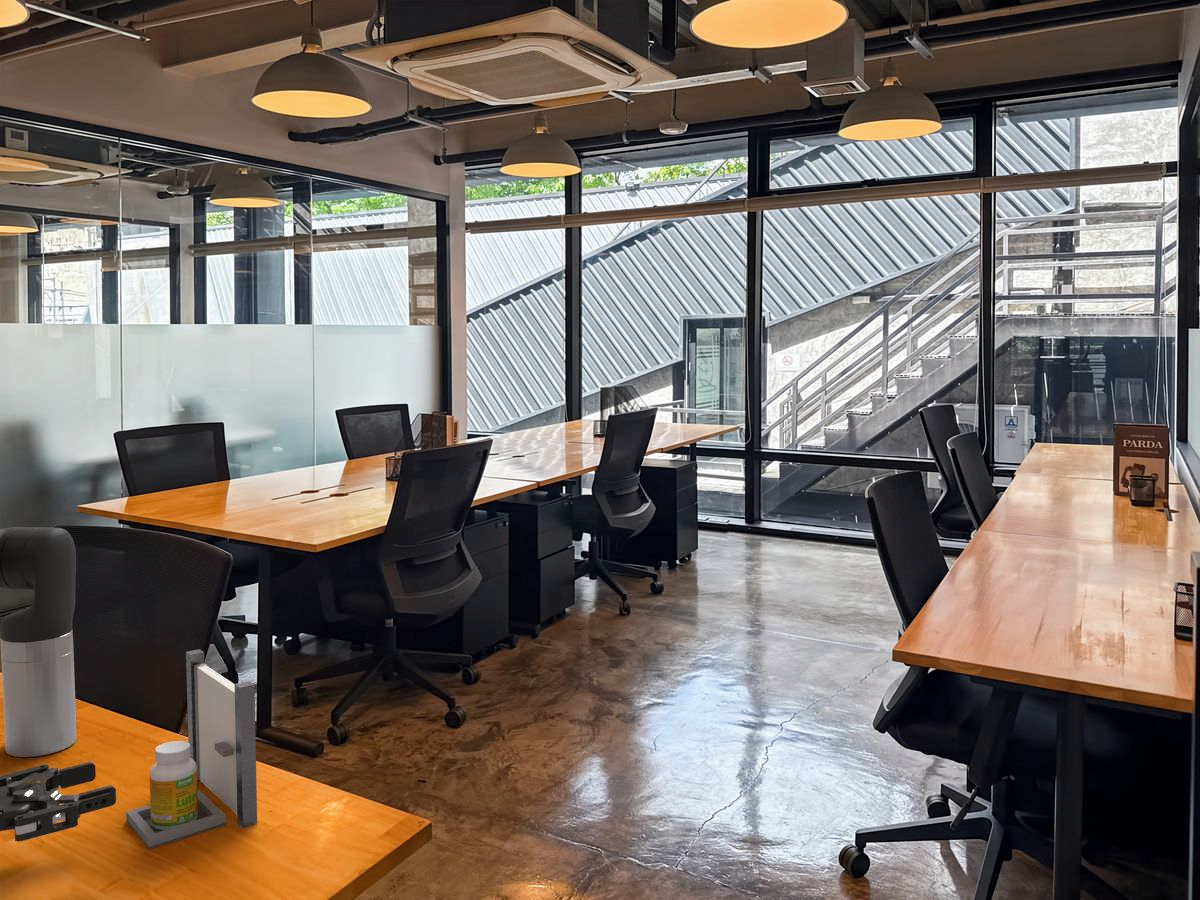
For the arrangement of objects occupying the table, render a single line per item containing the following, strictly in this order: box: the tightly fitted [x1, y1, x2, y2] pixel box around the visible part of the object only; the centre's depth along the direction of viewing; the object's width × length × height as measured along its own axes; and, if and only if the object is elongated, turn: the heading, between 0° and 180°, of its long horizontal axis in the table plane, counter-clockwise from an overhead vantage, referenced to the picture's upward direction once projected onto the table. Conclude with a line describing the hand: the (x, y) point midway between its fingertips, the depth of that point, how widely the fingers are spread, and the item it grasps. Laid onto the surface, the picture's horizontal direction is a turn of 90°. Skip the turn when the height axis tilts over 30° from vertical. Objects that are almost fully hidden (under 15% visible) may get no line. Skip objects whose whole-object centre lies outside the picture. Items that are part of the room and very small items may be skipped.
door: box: [194, 663, 237, 815], centre depth 122 cm, size 15×3×16 cm, turn 43°
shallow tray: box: [125, 790, 226, 850], centre depth 116 cm, size 9×9×1 cm
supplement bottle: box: [149, 740, 198, 830], centre depth 116 cm, size 5×5×10 cm
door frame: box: [185, 649, 258, 829], centre depth 122 cm, size 19×2×18 cm, turn 43°
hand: (104, 782), depth 110 cm, fingers open, 8 cm apart
